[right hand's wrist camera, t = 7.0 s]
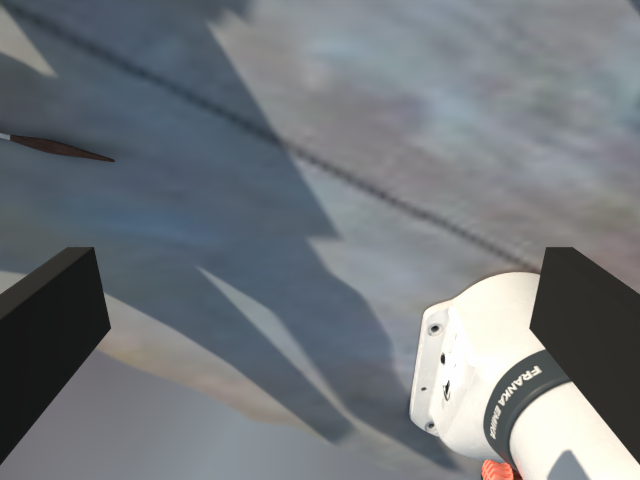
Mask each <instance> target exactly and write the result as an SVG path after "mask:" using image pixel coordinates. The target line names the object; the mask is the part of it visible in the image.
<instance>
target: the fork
mask: <svg viewBox="0 0 640 480" xmlns="http://www.w3.org/2000/svg"><path fill="white" fill-rule="evenodd" d="M0 138H4V139H7V140H10V141H13V142H16V143H19V144H22V145H25V146H28V147H31V148H34V149H37V150H40V151H44V152H47V153H52V154H58V155H66V156H74V157H82V158H89V159H95V160H102V161H109V162H115V160H113V159H110V158H107V157H104V156H101V155H97V154H94V153H91V152H88V151H84V150H81V149H78V148H75V147H72V146H69V145H66V144H63V143H60V142H56V141H52V140H47V139H40V138H33V137H24V136H16V135H8V134H3V133H0Z"/></svg>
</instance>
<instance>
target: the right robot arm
mask: <svg viewBox="0 0 640 480" xmlns="http://www.w3.org/2000/svg"><path fill="white" fill-rule="evenodd" d="M110 329H111V326H110V321H109V317H108V312H107V307H106V302H105V298H104V293H103V288H102V284H101V279H100V274H99V269H98V265H97V260H96V255H95V251H94V247H67V248H66V249H64V250H63V251H61V252H60V253H59V254H57V255H56V256H54V257H53V258H51V259H50V260H49V261H47V262H46V263H44V264H43V265H41V266H40V267H39V268H37V269H36V270H34V271H33V272H32V273H30V274H29V275H27V276H26V277H24V278H23V279H22V280H20V281H19V282H17V283H16V284H14V285H13V286H12V287H10V288H9V289H7V290H6V291H4V292H3V293H2V294H0V465H1V464H2V462H3V461H4V460H5V459H6V457H7V456H8V455H9V454H10V452H11V451H12V450H13V449H14V448H15V446H16V445H17V444H18V443H19V441H20V440H21V439H22V438H23V436H24V435H25V434H26V433H27V432H28V430H29V429H30V428H31V427H32V425H33V424H34V423H35V422H36V420H37V419H38V418H39V417H40V415H41V414H42V413H43V412H44V411H45V409H46V408H47V407H48V406H49V404H50V403H51V402H52V401H53V399H54V398H55V397H56V396H57V394H58V393H59V392H60V391H61V390H62V388H63V387H64V386H65V385H66V383H67V382H68V381H69V380H70V378H71V377H72V376H73V375H74V373H75V372H76V371H77V370H78V369H79V367H80V366H81V365H82V364H83V362H84V361H85V360H86V359H87V357H88V356H89V355H90V354H91V352H92V351H93V350H94V349H95V347H96V346H97V345H98V344H99V343H100V341H101V340H102V339H103V338H104V336H105V335H106V334H107V333H108V331H109V330H110ZM529 329H530V330H531V331H532V333H533V334H534V335H535V336H536V338H537V339H538V340H539V341H540V343H541V344H542V345H543V346H544V347H545V349H546V350H547V351H548V352H549V354H550V355H551V356H552V357H553V359H554V360H555V361H556V362H557V364H558V365H559V366H560V367H561V369H562V370H563V371H564V372H565V373H566V375H567V376H568V377H569V378H570V380H571V381H572V382H573V383H574V385H575V386H576V387H577V388H578V390H579V391H580V392H581V393H582V394H583V396H584V397H585V398H586V399H587V401H588V402H589V403H590V404H591V406H592V407H593V408H594V409H595V411H596V412H597V413H598V414H599V415H600V417H601V418H602V419H603V420H604V422H605V423H606V424H607V425H608V427H609V428H610V429H611V430H612V432H613V433H614V434H615V435H616V436H617V438H618V439H619V440H620V441H621V443H622V444H623V445H624V446H625V448H626V449H627V450H628V451H629V453H630V454H631V455H632V456H633V457H634V459H635V460H636V461H637V462H638V464H639V465H640V294H638V293H637V292H636V291H634V290H633V289H631V288H630V287H628V286H627V285H626V284H624V283H623V282H621V281H620V280H618V279H617V278H616V277H614V276H613V275H611V274H610V273H608V272H607V271H606V270H604V269H603V268H601V267H600V266H599V265H597V264H596V263H594V262H593V261H591V260H590V259H589V258H587V257H586V256H584V255H583V254H581V253H580V252H579V251H577V250H576V249H574V248H573V247H546V251H545V255H544V260H543V265H542V269H541V274H540V279H539V284H538V288H537V293H536V298H535V302H534V307H533V312H532V317H531V321H530V326H529Z"/></svg>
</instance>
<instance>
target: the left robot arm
mask: <svg viewBox="0 0 640 480" xmlns="http://www.w3.org/2000/svg"><path fill="white" fill-rule="evenodd" d="M539 279H540V275H538V274H534V273H527V272H511V273H504V274H499V275H496V276H492V277H489V278H487V279H485V280H482V281H480V282H478V283H476V284H475V285H473V286H472V287H470V288H469V289H467V290H466V291H464V292H463V293H462V294H460V295H459V296H457V297H456V298H454V299H452V300H449V301H446V302H442V303H439V304H436V305H434V306H431V307H430V308H428V309H427V310H426V311H425V313H424V315H423V320H422V327H421V334H420V340H419V347H418V354H417V360H416V367H415V374H414V380H413V387H412V394H411V400H410V407H409V415H410V418H411V420H412V421H413V422H414V423H415V424H416V425H417V426H418V427H420V428H421V429H423V430H424V431H426V432H428V433H430V434H433V435H435V436H438V437H440V438H441V440H442V441H443V443H444V444H445V445H446V446H447V447H449V448H450V449H451V450H453V451H455V452H456V453H458V454H460V455H463V456H465V457H468V458H471V459H475V460H478V461H483V462H484V464H483V467H482V471H483V473H482V475H481V480H640V465H639V464H638V462H637V461H636V460H635V459H634V457H633V456H632V455H631V454H630V453H629V451H628V450H627V449H626V448H625V446H624V445H623V444H622V443H621V441H620V440H619V439H618V438H617V436H616V435H615V434H614V433H613V432H612V430H611V429H610V428H609V427H608V425H607V424H606V423H605V422H604V420H603V419H602V418H601V417H600V415H599V414H598V413H597V412H596V411H595V409H594V408H593V407H592V406H591V404H590V403H589V402H588V401H587V399H586V398H585V397H584V396H583V394H582V393H581V392H580V391H579V390H578V388H577V387H576V386H575V385H574V383H573V382H572V381H571V380H570V378H569V377H568V376H567V375H566V373H565V372H564V371H563V370H562V369H561V367H560V366H559V365H558V364H557V362H556V361H555V360H554V359H553V357H552V356H551V355H550V354H549V352H548V351H547V350H546V349H545V347H544V346H543V345H542V344H541V343H540V341H539V340H538V339H537V338H536V336H535V335H534V334H533V333H532V331H531V330H530V329H529V326H530V321H531V317H532V312H533V307H534V302H535V298H536V293H537V288H538V284H539ZM433 326H437V328H435V329H431V328H432V327H433ZM431 423H433V424H431Z"/></svg>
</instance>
